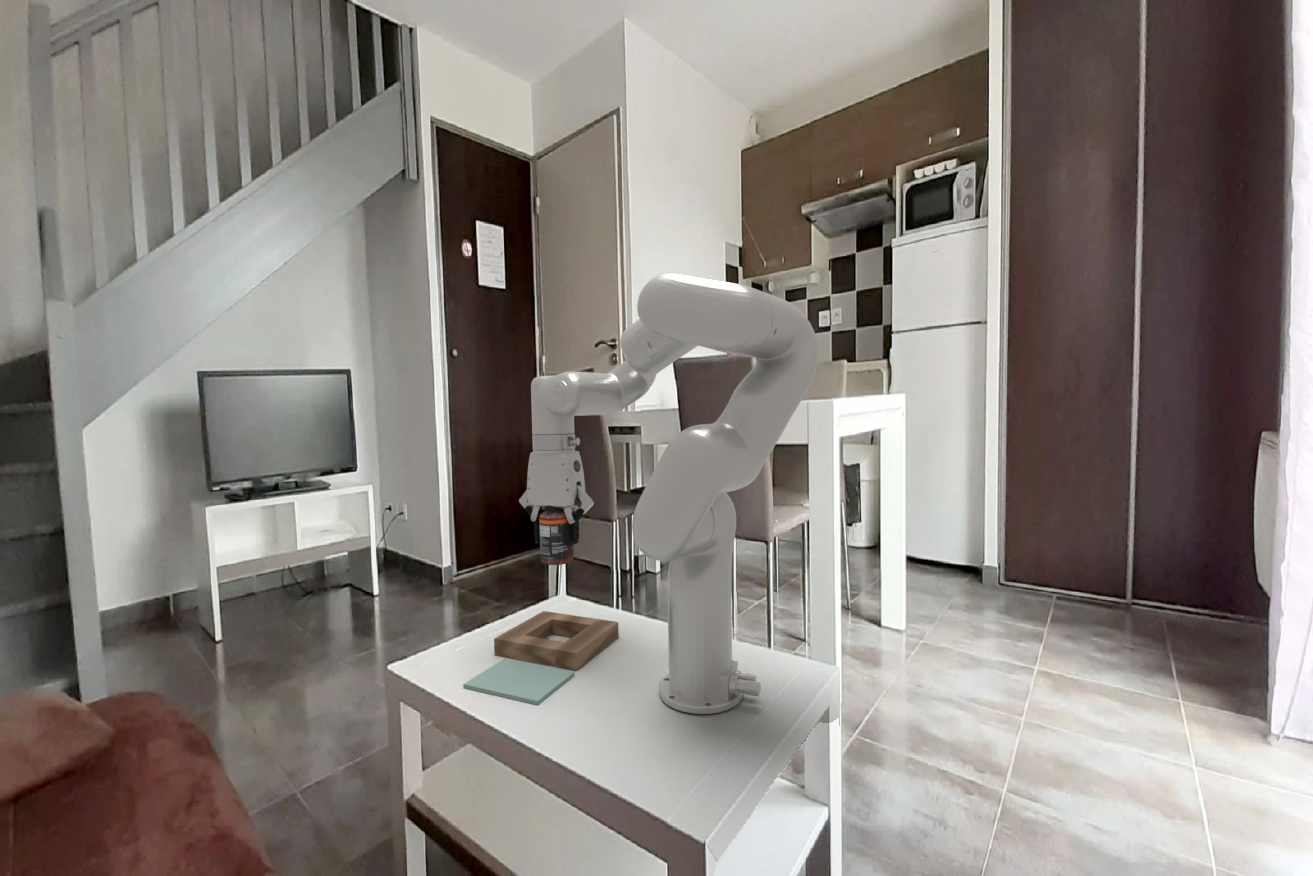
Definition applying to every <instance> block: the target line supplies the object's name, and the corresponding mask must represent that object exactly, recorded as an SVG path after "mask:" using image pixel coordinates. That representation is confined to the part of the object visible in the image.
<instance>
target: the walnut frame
mask: <svg viewBox="0 0 1313 876" xmlns="http://www.w3.org/2000/svg"><path fill="white" fill-rule="evenodd" d="M552 635H555V636H561V637H565V638H570V639H568V640H567V641H560V640H556V639H550V638H549V637H550V636H552ZM548 638H549V639H548ZM619 638H620V637H619V622H618V621H616V620H615V621H614V620H607V619H599V618H594V617H588V616H587V617H586V616H579V615H572V614H566V613H562V612H561V613H559V612H553V611H547V610H542V611H541V612H539V613H537V614H536V615H534V616H532V617H530V618H528V619H527V620H524V621H522V622H521V623H520V624H517V625H516V626H514V627H512V628H510V629H509V630H507V631H504V632H503V633H501V634H500V635H497V636H496V637H494V638H493V643H494V645H493V646H494V647H493V649H494V651H493V652H494V656H496V657H503V658H506V659H511V660H516V661H521V662H526V663H532V664H537V665H542V666H547V667H552V668H557V669H562V670H567V671H573V672H577V671H579V670H580V669H581V668H582V667H584V666H585V665H586V664H588V663H589V662H590V661H591V660H592V659H594V658H595V657H596V656H598V655H599V654H600V653H601V652H603V651H604V650H605V649H606V648H608V646H610V645H611V644H613V643H614V642H615V641H616V640H617V639H619Z"/></svg>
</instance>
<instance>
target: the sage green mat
mask: <svg viewBox="0 0 1313 876" xmlns="http://www.w3.org/2000/svg"><path fill="white" fill-rule="evenodd" d="M574 676H575V671H573V670H568V669H563V668H558V667H553V666H548V665H543V664H538V663H532V662H527V661H522V660H517V659H512V658H507V657H504V658H503V659H501V660H500V661H498V662H497V663H495V664H493V665H492V666H490V667H488V668H487V669H485V670H484V671H482V672H481V673H479V674H477V675H476V676H474V677H472V678H471V679H469V680H467V681H466V682H465V683H463V684H462V686H463V687H462V688H463V689H466V690H470V691H475V692H479V693H485V694H488V695H493V696H497V697H501V698H507V699H510V700H515V701H518V702H524V703H527V704H531V705H532V704H533V705H536V706H538V705H539V704H541V703H542V702H543V701H545V700H546V699H547V698H549V697H550V696H551V695H552V694H553V693H555V692H556V691H558V689H560V688H561V687H563V685H565V684H566V683H567V682H569V680H572V678H573V677H574Z"/></svg>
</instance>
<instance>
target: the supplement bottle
mask: <svg viewBox="0 0 1313 876" xmlns="http://www.w3.org/2000/svg"><path fill="white" fill-rule="evenodd" d="M544 508H545V510H544V512H543V513H541V514H540V517H539V522H540V543H539V545H540V549H539V550H540V561H541V563H542V564H544V565H548V566H560V565H565V564H569V563H571V562H573V560H574V555H575V554H574V551H575V550H574V545H571V546H567V545H566V532H565V525H566V524H567V523H568V520H567V517H566V514H565V511H564V509H563V508H557V507H554V506H549V505H548V506H545V507H544Z"/></svg>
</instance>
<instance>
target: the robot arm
mask: <svg viewBox="0 0 1313 876" xmlns="http://www.w3.org/2000/svg"><path fill="white" fill-rule="evenodd" d="M636 309H637V316H638V319H637V320H636V321H635V322H634V323H632V324H630V326H628V327H627V328H626V329H624V330H623V332H622V334H621V337H620V347H621V351H622V354H623V356H624V358H625V361H623V362H622V363H621V364H619V365H618V366H617V367H615V368H613V369H612V370H611V371H609V372H607V373H602V372H591V371H564V372H561V373H558V374H555V375H541V376H537V377H534V378H533V379H532V381H531V382H530V383H531V384H530V394H531V395H530V398H531V401H530V402H531V425H532V426H531V430H532V431H531V432H532V436H531V437H532V452H530V454H529V458H528V464H527V465H528V467H527V478H526V479H527V481H526V490H525V491H524V493H523V494H522V496H521V497H520V498H519V499H518V503H519V504H520V505H521V507H523V509H525V511H526V513H527V514H528V516H529V517H530V521H531V522H533V533H534V534H533V535H534V543H535V544H540V522H539V517H540V514H541V513H543V512H544V510H545V508H544V507H545V506H548V505H549V506H554V507H557V508H563V509H564V511H565V514H566V517H567V520H568V523H567V524H566V525H565V532H566V545H567V546H571V545H573V546H574V545H577V544H578V543H579V539H580V523H579V522H581V521H582V520H583V518H584V516H585V515H586V514H587V512H588V511H590V509H591V508H592V507H593V506H594V504H595V502H594V501H593V499H592V497H591V496H589V494H588V493H587V491H586V484H585V483H586V482H585V473H584V468H583V467H584V466H583V462H582V457H581V455H580V451H577V450H576V446H579V445H580V444H581V439H580V437H576V434H575V417H579V416H583V417H584V416H609V415H614V414H616V413H619V412H620V411H622V410H624V409H626V408H627V407H629V406H630V405H632V404H634V403H635V402H636V401H638V400H640V399H641V398H643V397H644V396H645V395H646V394H647V393H648V391H649V390H650V388H651V387H652V385H654V382H655V380H656V378H657V374H659V373H660V372H662V371H663V370H664V369H666V368H667V367H669V366H670V365H672V364H673V363H674V362H676V361H677V360H679V359H680V358H682V357H683V356H685V355H686V354H688V353H689V352H691V351H692V350H694V349H696V348H697V347H701V348H706V349H710V350H714V351H716V352H720V353H726V354H729V355H734V356H742V357H747V358H754V359H755V363H754V365H753V367H752V369H751V370H750V371H749V372H748V373H747V374H746V376H745V377H743V378H742V380H741V381H740V383H738V385H737V386H736V388H735V389H734V390H733V393H732V395H731V397H730V398H729V401H728V403H727V405H726V406H725V407H724V409H723V411H722V412H721V414H720V415H719V417H718V418H717V420H716V421H714V422H713V423H704V424H703V423H701V424H696V425H692V426H690V427H687V428H685V429H683V430H682V431H680V432H679V433H677V435H675V436H674V437H673V438H672V439H671V440H670V442H669V443H668V445H667V446H666V447H665V449H664V451H663V453H662V455H661V456H660V458H659V460H658V462H657V464H656V466H655V467H654V470H653V472H652V474H651V476H650V478H649V480H648V481H647V484H646V485H645V487H644V490H643V491H642V493H641V495H640V497H639V499H638V502H636V503H637V504H636V506H635V509H634V513H633V516H632V522H631V523H632V524H631V530H632V536H633V540H634V542H635V544H636V546H637V548H638V550H639V551H641V553H642V554H643V555H644V556H646V557H648V558H649V559H651V560H655V561H658V562H669V564H668V571H667V623H668V624H667V629H668V631H667V632H668V636H667V638H668V641H667V642H668V674H666V675H665V676H664V677H663V678H662V679H661V680H660V681H659V685H658V694H659V698H660V699H661V700H662V701H663V702H664V704H666V705H667V706H669V707H670V708H672V709H674V710H677V711H680V712H683V713H688V714H694V715H713V714H718V713H722V712H726V711H728V710H730V709H733V708H734V707H736V706H737V705H739V704H740V702H741V701H742V699H743V697H744V694H746V695H748V696H753V697H757V698H759V697H760V696H761V695H760V694H761V690H762V687H761V686H762V685H761V684H762V683H761V682H760V681H757V675H756V674H749V673H742V672H741V671H742V670H741V671H740V670H739V667H738V666H739V665H738V663H739V661H738V660H737V661H736V660H733V634H732V633H733V631H732V629H733V628H732V627H733V626H732V625H733V624H732V622H733V621H732V614H733V613H732V565H733V564H732V562H733V554H734V553H733V551H734V546H735V545H734V544H735V540H736V539H735V538H736V531H737V514H736V513H737V512H736V508H735V504H734V502H733V501H732V499H731V496H730V495H729V494H728V493H730V492H733V491H734V492H735V491H738V490H740V489H743V488H746V487H748V486H749V485H750V484H751V483H753V482H754V481H755V480H756V478H757V477H758V476H759V474H760V473H761V471H762V468H763V467H764V465H765V463H767V460H768V458H769V457H770V455H771V454H772V452H773V450H774V448H775V446H776V445H777V443H778V441H779V440H780V438H781V436H782V435H783V432H784V431H785V429H786V427H787V426H788V423H789V422H790V420H791V418H792V417H793V414H794V413H795V412H796V410H797V408H798V407H799V405H800V404H801V402H802V401H803V399H804V397H805V396H806V393H807V392H808V390H809V388H810V386H811V384H812V382H813V380H814V377H815V374H816V372H817V371H816V370H817V369H818V362H819V345H818V344H819V343H818V339H817V336H816V333H815V332H816V331H815V330H814V328H813V326H812V324H811V322H810V320H809V319H808V318H807V317H806V315H805V314H804V313H803V312H802V310H800V309H799V308H798V307H797V306H796V305H794V304H793V303H791V302H789V301H787V300H786V299H784V298H781V297H778V296H777V295H774V294H770V293H767V292H764V291H762V290H760V289H757V288H754V287H751V286H748V285H745V284H741V283H736V282H729V281H723V280H717V279H711V278H705V277H699V276H695V275H688V274H685V273H684V274H683V273H679V272H673V271H672V272H671V271H670V272H663V273H661V274H660V273H659V274H658V275H656V276H654V277H653V278H651V279H650V280H649V281H648V282H647V283H646V284H645V285H644V286H643V287H642V289H641V290H640V293H639V295H638V298H637V305H636ZM578 505H580V507H579V506H578Z"/></svg>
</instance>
